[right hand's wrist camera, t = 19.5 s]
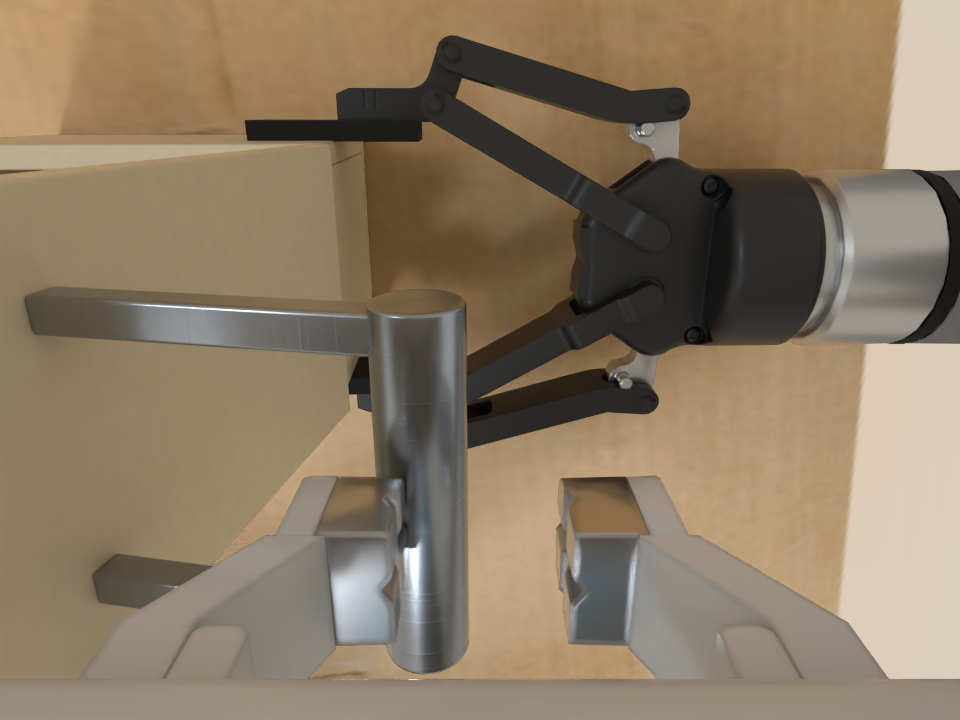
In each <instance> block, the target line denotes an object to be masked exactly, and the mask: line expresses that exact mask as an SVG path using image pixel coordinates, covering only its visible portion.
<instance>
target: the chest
mask: <svg viewBox="0 0 960 720" xmlns="http://www.w3.org/2000/svg"><path fill="white" fill-rule="evenodd" d="M304 144H328V145H330V150H331V164H332V177H333V190H334V204H335V217H336V230H337V243H338V257H339V270H340V283H341V296H342V301H347V302H368V300H369V299H371V298H372V283H371V266H370V249H369V232H368V215H367V198H366V181H365V164H364V146H363V142H336V141H247V134H242V135H44V136H25V137H6V138H0V175H1V174H11V173H21V172H32V171H42V170H52V169H62V168H72V167H82V166H92V165H102V164H112V163H122V162H132V161H142V160H152V159H162V158H173V157H183V156H193V155H203V154H213V153H223V152H233V151H243V150H253V149H263V148H273V147H283V146H293V145H304ZM358 359H359V356H346V363H347V376H348V384H349V381H350V379H351V376H352V374H353V371H354V369H355V366H356V364H357V361H358Z"/></svg>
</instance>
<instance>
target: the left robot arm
mask: <svg viewBox="0 0 960 720" xmlns="http://www.w3.org/2000/svg"><path fill="white" fill-rule="evenodd" d="M462 78H464V79H467V80H471V81H474V82H477V83H480V84H484V85H487V86H490V87H493V88H497V89H500V90H503V91H506V92H510V93H513V94H516V95H519V96H523V97H526V98H529V99H532V100H536V101H539V102H542V103H545V104H549V105H552V106H555V107H559V108H562V109H565V110H568V111H572V112H575V113H578V114H581V115H585V116H588V117H591V118H594V119H598V120H602V121H606V122H615V123H623V133H624V135H625V137H626V138H627V140H629V141H630V142H633V143H637V144H641V145H642V146H644V147H645V149H646V150H647V152H648V157H649V159H648V160H647V161H645V162H644V163H642V164H641V165H639V166H638V167H637V168H635V169H634V170H632V171H631V172H630V173H628V174H627V175H625V176H624V177H623V178H621V179H620V180H618V181H617V182H616V183H614V184H613V185H611V186H610V187H609V188H607V189H606V188H604V187H602V186H601V185H599V184H598V183H596V182H594V181H593V180H591V179H589V178H587V177H586V176H584V175H582V174H581V173H579V172H577V171H576V170H574V169H572V168H571V167H569V166H567V165H566V164H564V163H562V162H561V161H559V160H557V159H556V158H554V157H552V156H551V155H549V154H547V153H546V152H544V151H542V150H541V149H539V148H537V147H536V146H534V145H532V144H531V143H529V142H528V141H526V140H524V139H523V138H521V137H519V136H518V135H516V134H514V133H513V132H511V131H509V130H508V129H506V128H504V127H503V126H501V125H499V124H498V123H496V122H494V121H493V120H491V119H489V118H488V117H486V116H484V115H483V114H481V113H479V112H478V111H476V110H474V109H473V108H471V107H470V106H468V105H466V104H465V103H463V102H461V101H460V100H458V99H456V95H457V92H458V89H459V86H460V83H461V80H462ZM336 100H337V114H338V120H245V125H246V134H247V141H336V142H419V141H420V140H422V122H432V123H434V124H436V125H437V126H439V127H441V128H442V129H444V130H446V131H447V132H449V133H451V134H452V135H454V136H456V137H458V138H459V139H461V140H463V141H464V142H466V143H468V144H469V145H471V146H473V147H475V148H476V149H478V150H480V151H481V152H483V153H485V154H486V155H488V156H490V157H491V158H493V159H495V160H497V161H498V162H500V163H502V164H503V165H505V166H507V167H508V168H510V169H512V170H513V171H515V172H517V173H519V174H520V175H522V176H524V177H525V178H527V179H529V180H530V181H532V182H534V183H535V184H537V185H539V186H541V187H542V188H544V189H546V190H547V191H549V192H551V193H552V194H554V195H556V196H558V197H559V198H561V199H563V200H564V201H566V202H567V203H569V204H571V205H572V206H574V207H575V208H577V209H579V210H580V211H581V212H580V213H579V216H578V218H577V220H574V226H573V240H574V244H575V249H576V254H577V255H576V259H575V262H574V265H573V268H572V271H571V286H570V289H571V291H572V292H573V294H574V295H573V296H571V297H569V298H567V299H565V300H564V301H562V302H560V303H558V304H557V305H556V306H555V307H554V308H553V309H552V310H551V311H550V312H548V313H546V314H545V315H543V316H541V317H539V318H537V319H535V320H533V321H532V322H530V323H528V324H526V325H524V326H522V327H520V328H519V329H517V330H515V331H513V332H511V333H509V334H507V335H506V336H504V337H502V338H500V339H498V340H496V341H494V342H493V343H491V344H489V345H487V346H485V347H483V348H481V349H480V350H478V351H476V352H474V353H472V354H470V355H468V356H467V449H468V448H472V447H476V446H480V445H483V444H487V443H491V442H495V441H499V440H502V439H506V438H510V437H514V436H518V435H521V434H525V433H529V432H533V431H537V430H540V429H544V428H548V427H552V426H556V425H560V424H563V423H567V422H571V421H575V420H579V419H582V418H586V417H590V416H594V415H598V414H601V413H605V412H614V413H631V414H649V413H651V412H653V411H654V410H655V409H656V408H657V406H658V403H659V400H658V396H657V394H656V393H655V391H654V390H653V381H654V376H655V370H656V365H657V359H658V355H660V354H663V353H665V352H667V351H669V350H670V349H673V348H675V347H678V346H682V345H778V344H782V343H784V342H786V341H788V340H789V341H791V342H792V343H795V344H799V345H832V344H872V343H889V344H905V343H948V344H960V170H953V171H924V170H910V169H811V170H807V171H805V172H803V173H801V174H799V173H797V172H796V171H794V170H791V169H698V168H694V167H692V166H690V165H688V164H687V163H685V162H684V161H682V160H680V159H679V130H680V119H681V118H683V117H684V116H685V115H686V114H687V112H688V110H689V107H690V98H689V95H688V94H687V92H686V91H684V90H683V89H681V88H663V89H650V90H638V91H630V90H626V89H623V88H620V87H617V86H614V85H611V84H607V83H604V82H601V81H598V80H595V79H592V78H588V77H585V76H582V75H579V74H576V73H572V72H569V71H566V70H563V69H560V68H557V67H553V66H550V65H547V64H544V63H541V62H537V61H534V60H531V59H528V58H525V57H522V56H518V55H515V54H512V53H509V52H506V51H503V50H499V49H496V48H493V47H490V46H487V45H483V44H480V43H477V42H474V41H471V40H468V39H464V38H461V37H458V36H451V35H450V36H447V37H444V38H443V39H442V40H441V41H440V42H439V44H438V46H437V48H436V54H435V57H434V60H433V63H432V67H431V70H430V73H429V75H428V78H427V79H426V81H425V82H424V83H423V84H421V85H420V86H418V87H416V88H348V89H346V90H344V91H341V92H339V93H337V94H336ZM609 334H613V335H614V336H615V337H617V338H618V339H620V340H621V341H622V342H624V343H625V344H626V345H628V346H629V347H631V351H630V352H629V354H628V355H626V356H625V357H623V358H619V359H614V360H612V361H610V362H609V363H608V365H607V366H606V369H592V370H586V371H582V372H578V373H574V374H570V375H567V376H563V377H559V378H555V379H552V380H548V381H544V382H540V383H537V384H533V385H529V386H526V387H522V388H518V389H514V390H511V391H507V392H503V393H499V394H496V395H492V396H488V397H484V398H481V399H478V398H480V397H482V396H484V395H486V394H488V393H490V392H491V391H493V390H495V389H497V388H499V387H501V386H503V385H505V384H507V383H508V382H510V381H512V380H514V379H516V378H518V377H520V376H522V375H524V374H526V373H527V372H529V371H531V370H533V369H535V368H537V367H539V366H541V365H543V364H545V363H546V362H548V361H550V360H552V359H554V358H556V357H558V356H560V355H562V354H564V353H565V352H567V351H570V350H578V349H582V348H584V347H586V346H588V345H590V344H592V343H594V342H596V341H598V340H599V339H601V338H603V337H605V336H607V335H609ZM348 389H349V394H357V401H358V408H360V409H363V410H366V411H369V412H372V404H371V388H370V372H369V357H359V359H358V361H357V364H356V366H355V369H354V371H353V374H352V376H351V379H350V381H349V384H348ZM476 399H477V400H476Z"/></svg>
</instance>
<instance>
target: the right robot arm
mask: <svg viewBox="0 0 960 720" xmlns="http://www.w3.org/2000/svg"><path fill="white" fill-rule="evenodd" d="M405 507H406V494H405V483H404V478H391V477H338V476H311V477H306V478H304V479H303V480H302V482H301V484H300V486H299V488H298V490H297V492H296V494H295V496H294V498H293V500H292V502H291V504H290V507H289V509H288V511H287V513H286V515H285V517H284V519H283V521H282V523H281V525H280V527H279V529H278V531H277V533H276V535H272V536H264V537H262V538H261V539H259V540H257V541H255V542H254V543H252V544H250V545H249V546H247V547H245V548H243V549H242V550H240V551H238V552H237V553H235V554H233V555H231V556H230V557H228V558H226V559H225V560H223V561H221V562H220V563H218V564H216V565H214V566H213V567H211V568H209V569H208V570H206V571H204V572H202V573H201V574H199V575H197V576H196V577H194V578H192V579H190V580H189V581H187V582H185V583H184V584H182V585H180V586H179V587H177V588H175V589H173V590H172V591H170V592H168V593H167V594H165V595H163V596H161V597H160V598H158V599H156V600H155V601H153V602H151V603H149V604H148V605H146V606H144V607H143V608H141V609H139V610H138V611H136V612H134V613H132V614H131V615H129V616H127V617H126V618H124V619H122V620H120V621H119V622H118V623H117V625H116V626H115V627H114V629H113V630H112V631H111V633H110V634H109V636H108V637H107V638H106V640H105V641H104V643H103V644H102V645H101V647H100V648H99V650H98V651H97V652H96V654H95V655H94V657H93V658H92V659H91V661H90V662H89V663H88V665H87V666H86V668H85V669H84V670H83V672H82V673H81V675H80V676H79V677H78V679H0V720H960V679H889V678H888V677H887V676H886V674H885V673H884V672H883V670H882V669H881V667H880V666H879V665H878V663H877V662H876V661H875V659H874V658H873V656H872V655H871V654H870V652H869V651H868V649H867V648H866V647H865V645H864V644H863V643H862V641H861V640H860V638H859V637H858V636H857V634H856V633H855V631H854V630H853V629H852V627H851V626H850V625H849V623H848V622H846V621H844V620H843V619H841V618H839V617H838V616H836V615H834V614H833V613H831V612H829V611H827V610H826V609H824V608H822V607H821V606H819V605H817V604H815V603H814V602H812V601H810V600H809V599H807V598H805V597H803V596H802V595H800V594H798V593H797V592H795V591H793V590H791V589H790V588H788V587H786V586H785V585H783V584H781V583H779V582H778V581H776V580H774V579H773V578H771V577H769V576H767V575H766V574H764V573H762V572H761V571H759V570H757V569H755V568H754V567H752V566H750V565H749V564H747V563H745V562H743V561H742V560H740V559H738V558H737V557H735V556H733V555H731V554H730V553H728V552H726V551H725V550H723V549H721V548H719V547H718V546H716V545H714V544H713V543H711V542H709V541H707V540H706V539H704V538H702V537H701V536H692V535H689V534H688V532H687V530H686V528H685V526H684V524H683V522H682V520H681V518H680V516H679V515H678V513H677V511H676V509H675V507H674V505H673V503H672V501H671V499H670V497H669V495H668V493H667V491H666V489H665V487H664V485H663V483H662V481H661V479H660V478H659V477H657V476H638V477H592V478H561V479H560V480H559V488H558V508H559V514H560V519H561V523H560V524H559V525H558V527H557V528H556V568H557V577H558V584H559V590H561V591H562V592H563V593H564V595H563V614H564V620H565V626H566V631H567V637H568V642H569V644H584V645H620V646H629V649H630V650H631V652H632V653H633V654H634V655H635V656H636V657H637V658H638V659H639V660H640V661H641V662H642V663H643V664H644V665H645V666H646V667H647V668H648V669H649V670H650V672H651V673H652V674H653V675H654V676H655V677H656V678H657V679H308V678H309V677H310V675H311V674H312V673H313V672H314V671H315V670H316V669H317V668H318V667H319V666H320V665H321V664H322V663H323V662H324V661H325V660H326V659H327V657H328V656H329V655H330V654H331V653H332V652H333V651H334V650H335V646H343V645H379V644H396V638H397V632H398V626H399V620H400V614H401V597H400V593H401V592H402V591H403V590H404V589H405V582H406V574H407V559H408V536H407V527H406V526H405V525H404V524H403V518H404V512H405Z"/></svg>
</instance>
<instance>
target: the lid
mask: <svg viewBox="0 0 960 720" xmlns="http://www.w3.org/2000/svg"><path fill="white" fill-rule="evenodd" d="M346 356H359V357H369V372H370V388H371V404H372V420H373V436H374V452H375V468H376V477H391V478H404V483H405V494H406V507H405V512H404V518H403V524H404V525H405V526H406V527H407V536H408V559H407V574H406V582H405V589H404V590H403V591H402V592H401V593H400V597H401V614H400V620H399V626H398V632H397V638H396V644H384V645H387V651H388V653H389V656H390V657H391V659H392V660H393V661H394V663H395V664H397V665H398V666H399V667H401V668H402V669H404V670H406V671H409V672H412V673H416V674H434V673H438V672H442V671H444V670H447V669H449V668H451V667H452V666H454V665H455V664H456V663H458V662H459V661H460V660H461V658H462V657H463V656H464V654H465V652H466V650H467V648H468V644H469V600H468V471H467V342H466V302H465V300H464V299H463V298H462V297H461V296H459V295H456V294H454V293H450V292H446V291H440V290H430V289H410V290H399V291H392V292H388V293H384V294H380V295H378V296H375V297H373V298H371V299H369V300H368V302H347V301H342V296H341V283H340V270H339V257H338V243H337V230H336V217H335V204H334V190H333V177H332V164H331V150H330V145H328V144H304V145H293V146H283V147H273V148H263V149H253V150H243V151H233V152H223V153H213V154H203V155H193V156H183V157H173V158H162V159H152V160H142V161H132V162H122V163H112V164H102V165H92V166H82V167H72V168H62V169H52V170H42V171H32V172H21V173H11V174H1V175H0V679H78V677H79V676H80V675H81V673H82V672H83V670H84V669H85V668H86V666H87V665H88V663H89V662H90V661H91V659H92V658H93V657H94V655H95V654H96V652H97V651H98V650H99V648H100V647H101V645H102V644H103V643H104V641H105V640H106V638H107V637H108V636H109V634H110V633H111V631H112V630H113V629H114V627H115V626H116V625H117V623H118V622H119V621H120V620H122V619H124V618H126V617H127V616H129V615H131V614H132V613H134V612H136V611H138V610H139V609H141V608H143V607H144V606H146V605H148V604H149V603H151V602H153V601H155V600H156V599H158V598H160V597H161V596H163V595H165V594H167V593H168V592H170V591H172V590H173V589H175V588H177V587H179V586H180V585H182V584H184V583H185V582H187V581H189V580H190V579H192V578H194V577H196V576H197V575H199V574H201V573H202V572H204V571H206V570H208V569H209V568H211V567H213V566H211V565H212V564H213V563H214V562H215V561H216V560H217V559H218V558H219V557H220V555H221V554H222V553H223V552H224V551H225V550H226V549H227V548H228V546H229V545H230V544H231V543H232V542H233V541H234V540H235V539H236V537H237V536H238V535H239V534H240V533H241V532H242V531H243V530H244V528H245V527H246V526H247V525H248V524H249V523H250V522H251V521H252V519H253V518H254V517H255V516H256V515H257V514H258V513H259V512H260V510H261V509H262V508H263V507H264V506H265V505H266V504H267V503H268V501H269V500H270V499H271V498H272V497H273V496H274V495H275V494H276V492H277V491H278V490H279V489H280V488H281V487H282V486H283V485H284V483H285V482H286V481H287V480H288V479H289V478H290V477H291V476H292V474H293V473H294V472H295V471H296V470H297V469H298V468H299V467H300V465H301V464H302V463H303V462H304V461H305V460H306V459H307V458H308V456H309V455H310V454H311V453H312V452H313V451H314V450H315V449H316V447H317V446H318V445H319V444H320V443H321V442H322V441H323V440H324V438H325V437H326V436H327V435H328V434H329V433H330V432H331V431H332V429H333V428H334V427H335V426H336V425H337V424H338V423H339V422H340V420H341V419H342V418H343V417H344V416H345V415H346V414H347V413H348V412H349V410H350V403H349V389H348V376H347V363H346Z"/></svg>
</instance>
